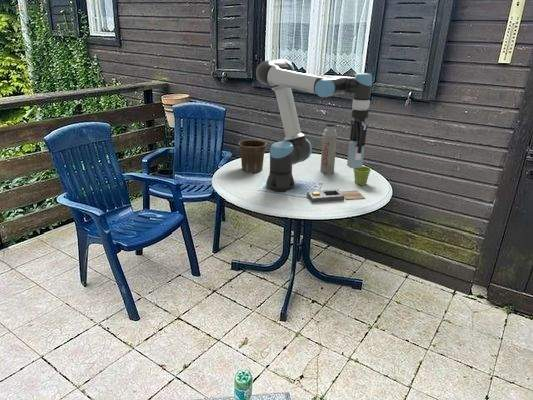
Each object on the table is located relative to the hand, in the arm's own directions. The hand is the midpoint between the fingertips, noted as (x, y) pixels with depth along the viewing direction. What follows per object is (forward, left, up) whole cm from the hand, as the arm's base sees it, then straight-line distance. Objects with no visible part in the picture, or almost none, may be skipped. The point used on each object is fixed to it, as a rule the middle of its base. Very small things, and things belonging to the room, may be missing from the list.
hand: (355, 157), depth 190 cm
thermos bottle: (-40, +1, -21) cm, 45 cm away
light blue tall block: (0, 0, -4) cm, 4 cm away
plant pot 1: (-50, -42, -21) cm, 68 cm away
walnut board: (0, 0, -20) cm, 20 cm away
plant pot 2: (-17, +12, -21) cm, 29 cm away
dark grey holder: (0, -14, -20) cm, 25 cm away
